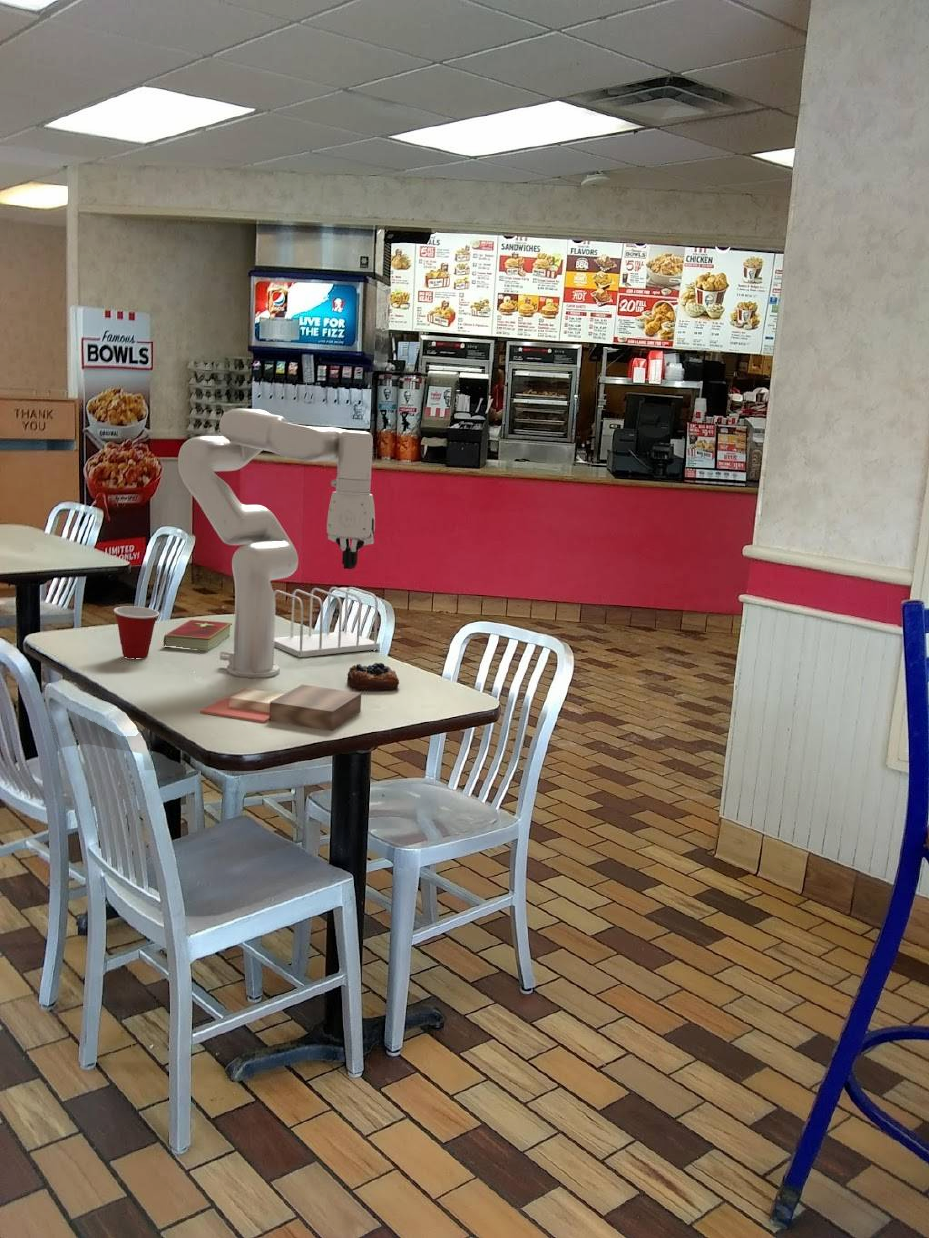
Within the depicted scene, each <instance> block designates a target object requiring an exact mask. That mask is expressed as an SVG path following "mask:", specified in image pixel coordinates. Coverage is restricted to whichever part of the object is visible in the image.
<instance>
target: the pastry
mask: <svg viewBox="0 0 929 1238" xmlns="http://www.w3.org/2000/svg"><path fill="white" fill-rule="evenodd" d="M346 680H347V684H348V685H349V687H351V688H352V690H354V691H355V692H392V691H393V692H394V691H397V690H398V688H399V684H400V679H399V677H398V676H397V674H396V671H395V670H393V669H391V668H390V666H387V665H385V664H384V663H383V662H379V663H378V662H375V663H373V664H371V665H369V664H368V666H367V665H362V664H361V663H357V664H355V665H352V667H349V670H348V672H347V679H346Z"/></svg>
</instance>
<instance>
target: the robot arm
mask: <svg viewBox="0 0 929 1238" xmlns="http://www.w3.org/2000/svg"><path fill="white" fill-rule="evenodd" d="M218 426H219V427H218V428H219V431H220V433H221V436H220V435H199V436H194V437H192V438H189V439H187V440H186V441H185V442H184V443H183V444H182V445H181V447H180V449H179V452H178V459H177V466H178V472H179V475H180V478H181V480H182V482H183V483H184V485H185V487H186V488H187V490H188V491H189V493H190V494H191V495H192V497H193V498H194V499H195V500H196V503H198V505H199V506H200V508H201V510H202V512H203V513H204V514H205V517H206V518H207V519H208V521H209V523H210V524H211V526H212V527H213V529H214V531H215V532H216V534H217V536H218V537H219V538H220V539H221V541H222V542H223V543H224V544H226V545H228V546H229V545H230V546H240V547H238V549H236V550H235V552H234V553H233V556H232V559H231V567H232V568H231V570H232V574H233V581H234V595H235V596H234V597H235V598H234V631H233V635H234V637H233V650H232V652H231V651H228V650H221V651H220V653H219V660H221V661H227V662H228V663H229V664H228V665H227V666H226V672H227V673H228V674H230V675H232V676H235V677H236V676H237V677H242V678H249V679H250V678H254V679H255V678H256V679H257V678H259V679H260V678H270V677H274V676H276V675H279V674H280V666H279V665H277V664H275V663H274V660H275V659H274V656H275V655H274V653H275V647H274V638H275V633H276V632H275V631H276V630H275V629H276V594H275V595H274V591H275V590H274V589H273V587H272V583H271V582H272V581H275V580H281V579H287V578H288V577H290V576H292V575H293V574H294V573H295V572H296V571H297V569H298V566H299V556H298V555H299V554H298V552H297V550H296V548H295V546H294V544H293V542H292V541H291V539H290V537H289V536H288V534H287V533H286V531H285V529H284V528H283V527H282V524H281V523H280V522H279V520H278V518H277V517H276V516H275V514H274V513H273V512H272V511H271V510H270V509H268V508H267V507H265V506H264V505H261V504H244V503H242V502H240V500H239V499H238V497H237V496H236V494H235V493H234V491H233V489H232V487H230V484H228V483H227V482H225V480H223V479H222V478H221V477H219V475H217V474H216V473H215V472H232V471H238V470H240V469H242V468H243V467H245V466H246V465H248V463H250V461H252V460H253V459H254V458H255V457H256V456H258V455H259V454H260V453H261V452H262V451H266V452H271V453H274V454H275V455H278V456H282V457H284V458H285V457H286V458H290V459H295V460H298V461H299V460H300V461H304V462H305V461H306V462H337V471H336V478H335V479H331V481H330V485H331V486H332V487H334V488H335V491H332V493H331V497H330V500H329V507H328V513H327V521H326V533H327V534H328V535H327V539H328V540H330V541H331V542H334V543H336V544H337V545H338V546H339V547H340V550H341V551H342V556H341V557H342V561H341V562H342V565H343V569H344V570H347V569H348V570H354V569H355V568H356V566H357V565H358V555H359V553H358V552H359V551H360V550H361V549H362V548H363V547H364V546H368V545H373V544H374V543H375V540H374V535H375V529H376V513H375V501H374V495H373V494H372V493H371V484H372V482H371V481H372V480H371V479H372V468H373V467H372V465H373V464H372V463H373V446H374V443H373V441H374V439H373V438H374V437H373V434H372V433H371V432H368V431H363V430H350V429H349V430H348V429H343V428H339V427H327V426H325V427H324V426H308V425H307V426H306V425H300V424H294V423H291V422H289V421H288V420H287V419H286V418H285V417H284V416H282V415H278V414H272V413H269V412H268V411H266V410H264V409H259V408H258V409H257V408H256V409H255V408H239V407H238V408H232V409H229V410H227V411H226V412H225V413H223V414H222V416H221V418H220V420H219V425H218ZM350 539H351V540H352V541H351V540H350ZM241 545H242V546H241Z"/></svg>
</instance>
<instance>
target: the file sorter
mask: <svg viewBox="0 0 929 1238" xmlns="http://www.w3.org/2000/svg"><path fill="white" fill-rule="evenodd" d="M334 590H336V591H339V592H341V593H344V594H345V601H344V605H345V608H344V631H342V616H343V604H342V599H341V598H340V597H339V596H338V595H336V594H333V593H332V591H334ZM350 590H353V591H355V592H359V593H364V594H366V595H369V596H372V598H373V599H374V602H375V607H374V609H375V610H374V630H373V631H374V633H373V635H374V638H373V640H372V639H369V638H366V637H364V636H362V635H360V632H361V619H362V618H361V616H362V600H361V598H360V596H359V595H358V594H357V593H356V594H355V593H353V592H350ZM273 591H274V595H275V596H276V594H278V593H279V594H281V595H285V596H287V597H290V598H292V599H291V618H290V619H291V621H290V622H291V623H290V636H280V637H274V648H276V649H279V650H281V651H284V652H286V653H287V654H290V655H293V656H295V657H297V658H307V657H308V658H309V657H313V656H315V657H316V656H325V655H332V654H342V653H343V654H344V653H352V652H353V653H354V652H360V651H373V650H380V648H381V643H380V642H377V641H378V640H377V638H378V635H377V634H378V612H379V611H378V610H379V608H378V605H379V603H378V598H377V596H376V595H375V593H372V592H370V591H367V590H363V589H360V588H357V587H353V586H349V587H347V589H346V590H344V589H341V588H339V587H336V586H331V588H330V589H329V590H328V591H326V590H324V589H321V588H318V587H314V588H313V589H312V590H311V591H310V593H308V592H307V591H304V590H301V589H299V588H297V589H294V591H293V592H292V594H290V593H289V592H286V591H282V590H279V589H276V590H273ZM315 591H316V592H320V593H321V594H325V595H327V619H326V621H327V622H326V623H327V624H326V632H325V633H324V632H323V624H324V623H323V621H324V604H323V601H322V599H321V598H320V596H316V595H314V593H315ZM296 593H300V594H303V595H305V596H308V597H310V599H309V600H310V601H309V623H308V625H309V627H308V628H309V629H308V632H309V633H308V634H303V632H304V631H303V630H304V629H303V627H304V626H303V625H304V604H303V601H302V599H301V598H300V597H299V596H296ZM349 596H352V597H355V598H356V599H357V601H358V616H357V617H358V618H357V631H356V633H354V632H351V631H348V601H349ZM331 597H332V598H335V599H336V600H337V601H338V604H339V606H338V607H339V616H338V631H334V632H330V625H331V623H330V622H331V621H330V618H331ZM314 599H316V600H317V601H318V602H319V605H320V614H319V615H320V616H319V633H312V626H313V604H314V603H313V602H314ZM295 600H297V601H298V602H299V606H300V625H299V626H300V627H299V635H294V620H295V617H294V616H295Z"/></svg>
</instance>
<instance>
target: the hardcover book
mask: <svg viewBox="0 0 929 1238" xmlns="http://www.w3.org/2000/svg"><path fill="white" fill-rule="evenodd" d="M232 625H233V622H224V621H212V620H202V619H201V620H200V619H189V620H188V621H187V622H184V623H183V624H181V625H179V626H178V627H176V628H175V629H172V630H170V632H167V633H166V634H165V635H164V636H163V647H164V646H165V645H166V646H176V647H183V648H190V649H197V650H196V651H198V650H206V651H205V652H209V651H210V650H212V649H213V648H214V647H216V646H217V645H218V643H219V642H220V643H222V642H223V641H224V640H225V639H224V638H226V637H227V636H228V635H230V636H231V626H232ZM228 637H229V636H228ZM228 637H227V638H228ZM227 638H226V639H227ZM223 639H224V640H223ZM222 640H223V641H222ZM220 643H219V644H220ZM216 644H217V645H216ZM215 645H216V646H215ZM213 646H214V647H213ZM212 647H213V648H212ZM211 648H212V649H211ZM209 649H210V650H209ZM208 650H209V651H208Z"/></svg>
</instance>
